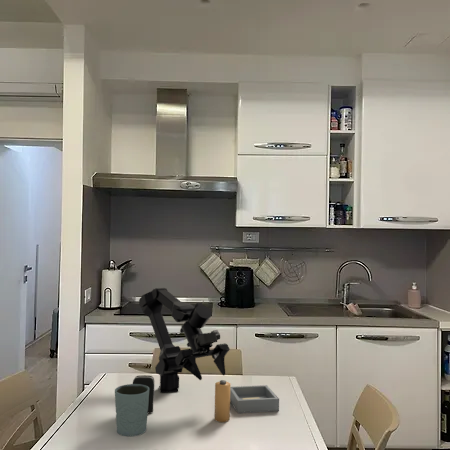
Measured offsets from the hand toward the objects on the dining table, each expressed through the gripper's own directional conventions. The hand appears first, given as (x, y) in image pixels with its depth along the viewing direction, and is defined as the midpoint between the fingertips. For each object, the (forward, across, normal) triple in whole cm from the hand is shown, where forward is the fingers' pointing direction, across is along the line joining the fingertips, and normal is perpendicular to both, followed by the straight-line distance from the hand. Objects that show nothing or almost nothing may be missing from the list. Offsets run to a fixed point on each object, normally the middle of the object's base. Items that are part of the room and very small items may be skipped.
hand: (212, 377), depth 155 cm
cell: (+12, 0, +5) cm, 13 cm away
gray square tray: (+9, +16, +8) cm, 20 cm away
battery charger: (-1, -18, +18) cm, 25 cm away
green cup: (+6, -27, +10) cm, 30 cm away
